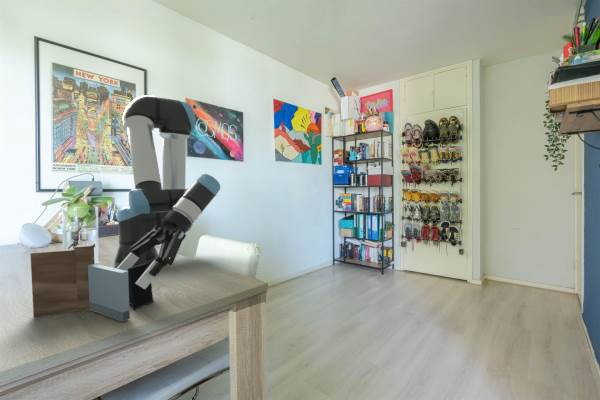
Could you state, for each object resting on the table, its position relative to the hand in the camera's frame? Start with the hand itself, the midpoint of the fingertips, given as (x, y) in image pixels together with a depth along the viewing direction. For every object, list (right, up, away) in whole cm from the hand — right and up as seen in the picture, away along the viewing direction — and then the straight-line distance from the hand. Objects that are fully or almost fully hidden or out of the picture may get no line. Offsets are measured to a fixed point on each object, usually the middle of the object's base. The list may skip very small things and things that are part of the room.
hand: (127, 280), depth 71 cm
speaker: (+1, -6, +2) cm, 7 cm away
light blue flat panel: (-1, -6, -6) cm, 9 cm away
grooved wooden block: (-13, -6, -3) cm, 15 cm away
